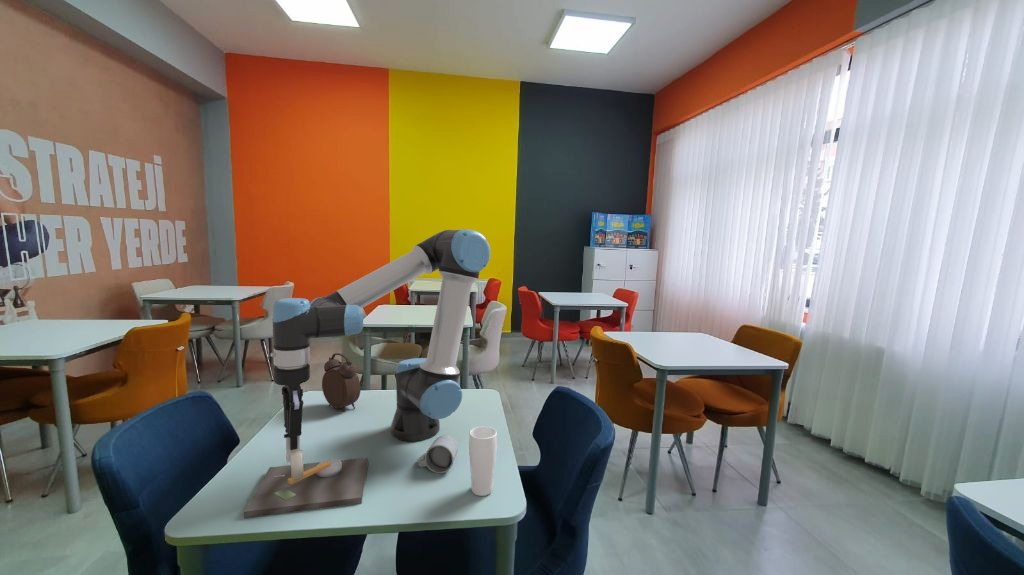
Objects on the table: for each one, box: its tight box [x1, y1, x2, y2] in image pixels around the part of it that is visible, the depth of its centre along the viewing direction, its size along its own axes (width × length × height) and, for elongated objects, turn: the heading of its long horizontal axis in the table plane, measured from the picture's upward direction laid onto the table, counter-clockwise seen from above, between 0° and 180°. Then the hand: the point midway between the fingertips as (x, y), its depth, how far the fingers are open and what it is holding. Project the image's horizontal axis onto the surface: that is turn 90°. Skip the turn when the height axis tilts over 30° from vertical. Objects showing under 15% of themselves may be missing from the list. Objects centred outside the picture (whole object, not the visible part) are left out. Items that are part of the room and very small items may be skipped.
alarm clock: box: [321, 352, 362, 412], centre depth 147 cm, size 14×7×20 cm, turn 59°
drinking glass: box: [468, 426, 498, 497], centre depth 101 cm, size 7×7×15 cm
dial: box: [288, 449, 342, 484], centre depth 102 cm, size 13×6×8 cm, turn 145°
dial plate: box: [243, 456, 369, 519], centre depth 101 cm, size 24×18×2 cm
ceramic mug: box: [416, 434, 459, 474], centre depth 112 cm, size 11×8×8 cm
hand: (292, 459), depth 100 cm, fingers closed
